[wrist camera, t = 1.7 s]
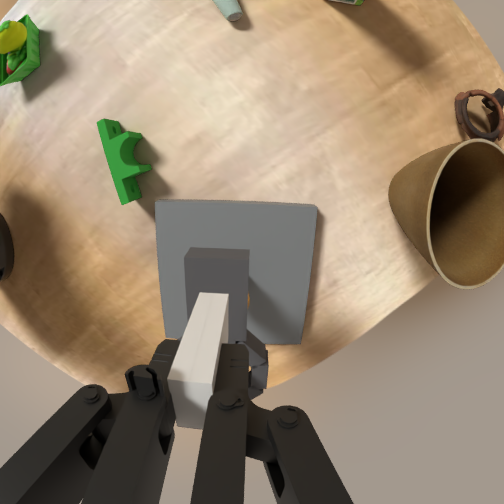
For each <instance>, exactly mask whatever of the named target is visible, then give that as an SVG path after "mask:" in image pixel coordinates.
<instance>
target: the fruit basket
mask: <svg viewBox="0 0 504 504" xmlns="http://www.w3.org/2000/svg"><path fill="white" fill-rule="evenodd" d="M38 36H39V29H38V28H37V27H36V25H35V24H34V23H33V22H32V21H31V19H30V17H29V16H28V14H27V15H25V16H24V17H22V18H21V19H20V20H19V21H17V22H16V21H10V20H8V21H5V22H3V23H2V25H1V26H0V86H2V85H5V84H8V83H13V82H18V81H22V80H23V78H24V77H26V76H28V75H29V74H30V73H31V72H33V71H34V70H35V68H38V67H39V66H40V58H39V55H40V54H39V47H38V46H39V37H38Z"/></svg>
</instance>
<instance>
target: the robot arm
mask: <svg viewBox="0 0 504 504" xmlns="http://www.w3.org/2000/svg"><path fill="white" fill-rule="evenodd" d="M13 262H14V252H13V244H12V239H11V235H10V232H9V229H8V227H7V224H6V222H5V220H4V218H3V217H2V215H1V214H0V282H1V281H3V280H4V279H6V278H7V277H8V276H9V275H10V273H11V271H12V268H13ZM228 299H229V294H220V293H202V292H200V293H199V296H198V298H197V301H196V303H195V306H194V308H193V311H192V314H191V316H190V319H189V321H188V324H187V327H186V329H185V332H184V335H183V337H182V340H181V341H179V340H169V339H165V340H164V341H163V342H161V343H160V344H159V345H158V347H157V349H156V351H155V354H154V355H153V357H152V361H150V364H149V365H137V366H134V367H132V368H130V369H128V370H127V371H126V373H125V377H126V381H127V384H128V387H129V392H127V393H117V394H108V393H107V391H106V389H105V388H103V387H102V386H100V385H96V384H91V385H86V386H84V387H82V388H81V389H79V390H78V391H77V392H76V393H75V394H74V395H73V396H72V397H71V398H70V399H69V400H68V401H67V402H66V403H65V404H64V405H63V406H62V407H61V408H60V409H59V410H58V411H57V412H56V413H55V414H54V415H53V416H52V417H51V418H50V419H49V420H47V421H46V423H45V424H44V425H42V427H41V428H40V429H38V430H37V431H36V433H35V434H34V435H33V436H32V437H31V438H30V439H29V440H28V441H27V442H26V443H25V444H24V445H23V446H22V447H21V448H20V449H19V450H18V451H17V452H16V453H15V454H14V455H13V456H12V457H11V458H10V459H9V460H8V461H7V462H6V463H5V464H4V465H3V466H2V467H1V468H0V504H79V503H80V501H81V500H82V499H83V500H82V503H81V504H159V500H160V496H161V492H162V487H163V483H164V479H165V475H166V470H167V466H168V461H169V458H170V453H171V450H172V446H173V442H174V438H175V437H174V435H175V434H174V429H173V427H174V423H175V420H176V423H177V426H179V427H186V428H194V429H203V432H202V438H201V444H200V450H199V456H198V461H197V467H196V473H195V479H194V485H193V491H192V497H191V503H190V504H243V502H244V481H245V456H247V457H250V458H254V459H257V460H260V461H263V463H264V467H265V470H266V473H267V476H268V478H269V481H270V484H271V487H272V490H273V493H274V496H275V498H276V501H277V504H353V502H352V500H351V498H350V496H349V494H348V492H347V491H346V489H345V487H344V485H343V483H342V481H341V479H340V477H339V475H338V474H337V472H336V470H335V468H334V466H333V464H332V462H331V460H330V458H329V457H328V455H327V453H326V451H325V449H324V447H323V445H322V443H321V441H320V439H319V437H318V435H317V433H316V431H315V429H314V428H313V425H312V423H311V422H310V419H309V418H308V416H307V414H306V413H305V412H304V411H303V410H301V409H300V408H298V407H294V406H280V407H277V408H275V409H274V410H272V411H270V410H266V409H263V408H260V407H258V406H256V405H255V404H254V403H253V402H252V401H251V400H250V398H249V396H248V374H249V351H248V349H247V347H246V346H245V344H228Z"/></svg>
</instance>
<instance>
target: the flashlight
mask: <svg viewBox="0 0 504 504" xmlns="http://www.w3.org/2000/svg"><path fill="white" fill-rule="evenodd" d="M213 1H214V3H215V4H216V6H217V7H218V8H219V10H220V11H221V13H222V14H223V15H224V17H225V18H226V19H227V20H228V21H236V20H238V19H240V18H241V16H242V15H243V13H242V10H241V8H240V6H239V3H238V1H237V0H213Z"/></svg>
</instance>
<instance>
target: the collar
mask: <svg viewBox="0 0 504 504" xmlns="http://www.w3.org/2000/svg"><path fill="white" fill-rule="evenodd" d="M249 256H250V249H224V248H198V247H190V249H189V250H188V252H187V253H186V255H185V256H184V271H185V290H186V305H187V319H188V321H189V319H190V316H191V314H192V311H193V308H194V306H195V303H196V301H197V298H198V296H199V293H200V292H202V293H220V294H229V299H228V344H245V346H246V347H247V349H248V351H249V366H250V367H251V371H249V374H248V396H249V398H250V400H252V399H254V398H255V397H257V396H259V395H260V394H262V393H263V389H266V386H267V376H268V350H266V348H265V344H264V343H262V342H261V341H260V340H259V339H258V338H257V337H256V336H254V335H253V334H252V333H251V332H250V331H249V330H248V329H247V307H248V281H249ZM182 337H183V335H182V336H181V337H180V338H179V339H177V340H179V341H181V340H182Z"/></svg>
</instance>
